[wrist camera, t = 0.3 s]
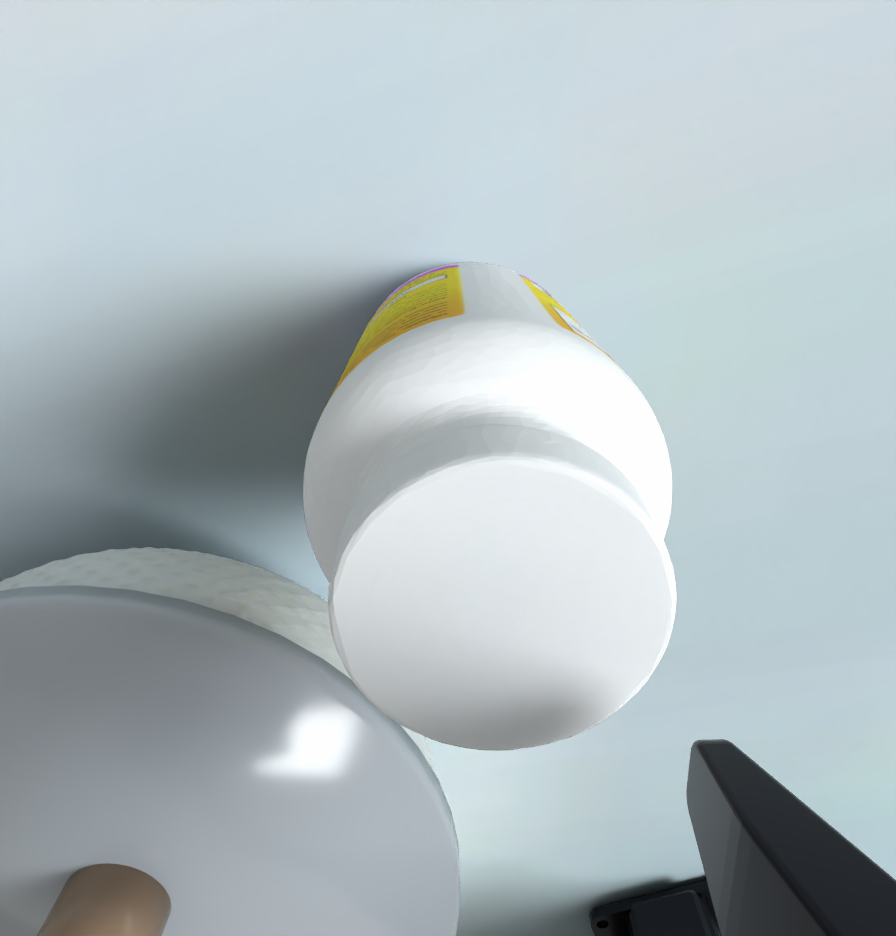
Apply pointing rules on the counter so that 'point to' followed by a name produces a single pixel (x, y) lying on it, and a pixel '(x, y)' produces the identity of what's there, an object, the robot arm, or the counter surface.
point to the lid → (203, 781)
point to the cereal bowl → (205, 592)
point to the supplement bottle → (490, 515)
